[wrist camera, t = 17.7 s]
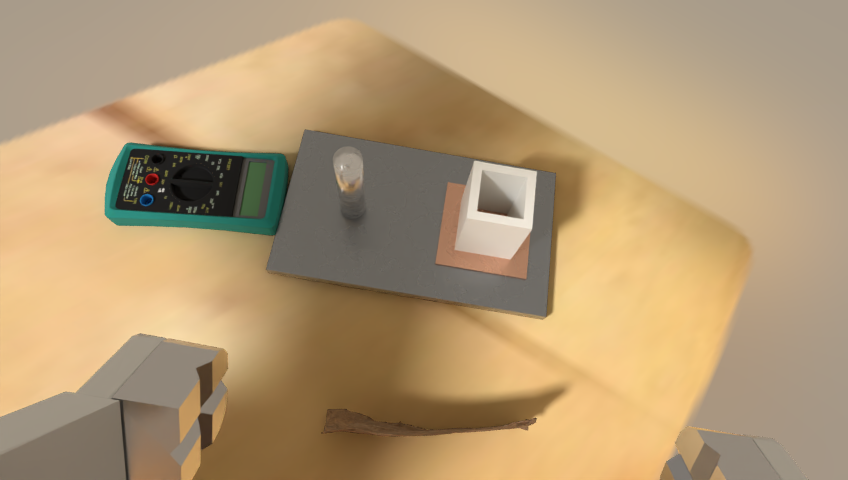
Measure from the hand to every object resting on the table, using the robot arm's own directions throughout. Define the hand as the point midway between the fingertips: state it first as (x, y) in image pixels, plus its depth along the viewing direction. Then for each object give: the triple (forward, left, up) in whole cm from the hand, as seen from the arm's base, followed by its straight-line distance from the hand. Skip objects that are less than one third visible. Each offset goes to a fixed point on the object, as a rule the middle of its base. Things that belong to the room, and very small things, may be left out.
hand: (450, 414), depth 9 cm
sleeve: (+5, +18, -33) cm, 38 cm away
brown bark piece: (+2, +1, -35) cm, 35 cm away
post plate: (-1, +18, -34) cm, 39 cm away
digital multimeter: (-21, +18, -35) cm, 44 cm away
